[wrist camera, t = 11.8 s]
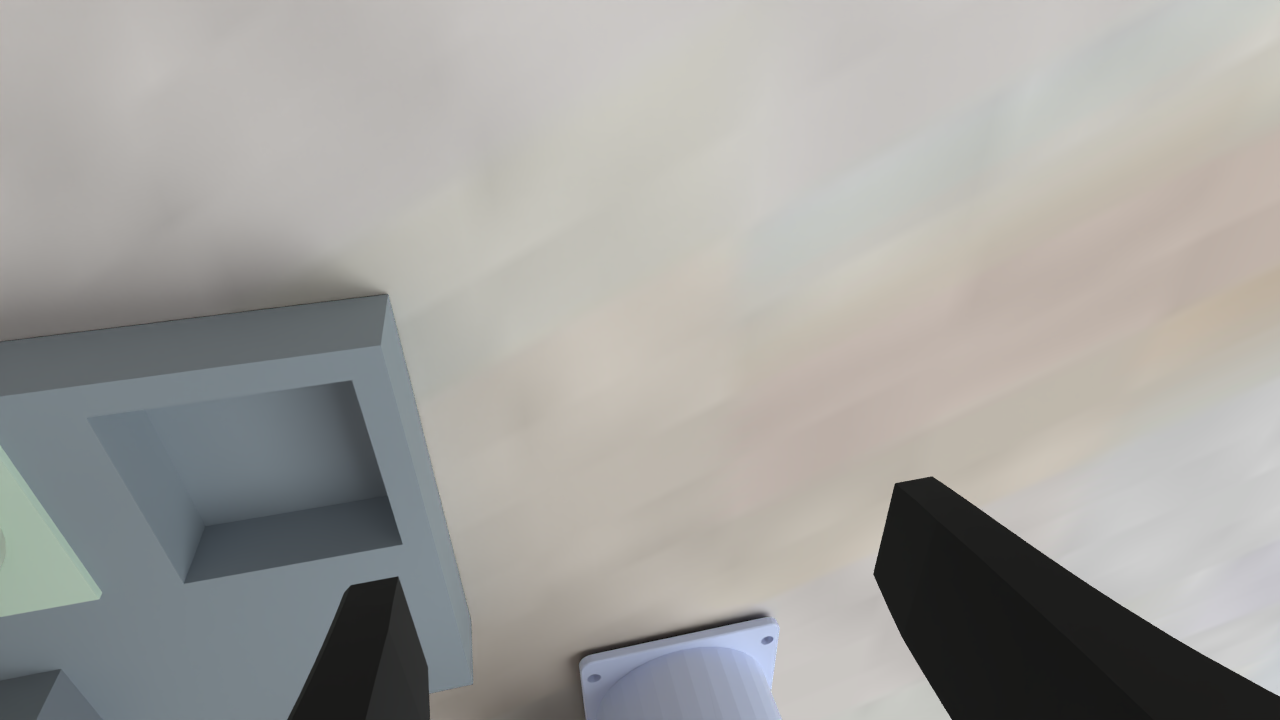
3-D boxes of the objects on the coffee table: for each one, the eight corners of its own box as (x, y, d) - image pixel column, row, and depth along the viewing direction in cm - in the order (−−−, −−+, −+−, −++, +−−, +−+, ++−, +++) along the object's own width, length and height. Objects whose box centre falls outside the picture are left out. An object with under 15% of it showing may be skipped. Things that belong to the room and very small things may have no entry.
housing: (471, 621, 25) (474, 731, 22) (22, 711, 23) (-49, 850, 19) (388, 294, 18) (374, 387, 14) (-287, 377, 15) (-484, 510, 12)
